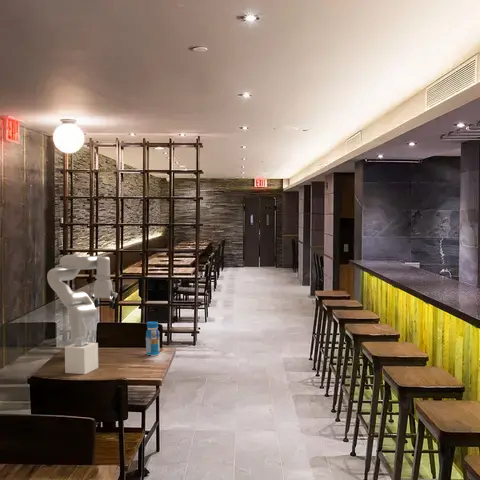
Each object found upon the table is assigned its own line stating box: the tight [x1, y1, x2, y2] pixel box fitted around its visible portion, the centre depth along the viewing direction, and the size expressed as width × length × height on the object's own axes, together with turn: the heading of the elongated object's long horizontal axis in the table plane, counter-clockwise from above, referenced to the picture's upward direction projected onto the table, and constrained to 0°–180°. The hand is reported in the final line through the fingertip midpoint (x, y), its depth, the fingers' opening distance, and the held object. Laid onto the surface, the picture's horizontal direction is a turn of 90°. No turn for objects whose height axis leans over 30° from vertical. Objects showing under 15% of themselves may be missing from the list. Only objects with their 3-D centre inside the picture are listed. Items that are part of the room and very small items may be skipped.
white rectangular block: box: [75, 336, 88, 347], centre depth 322 cm, size 4×6×10 cm, turn 164°
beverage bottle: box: [145, 321, 161, 357], centre depth 358 cm, size 8×8×20 cm
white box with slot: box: [64, 341, 99, 375], centre depth 322 cm, size 12×14×14 cm
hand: (103, 307), depth 337 cm, fingers open, 9 cm apart
